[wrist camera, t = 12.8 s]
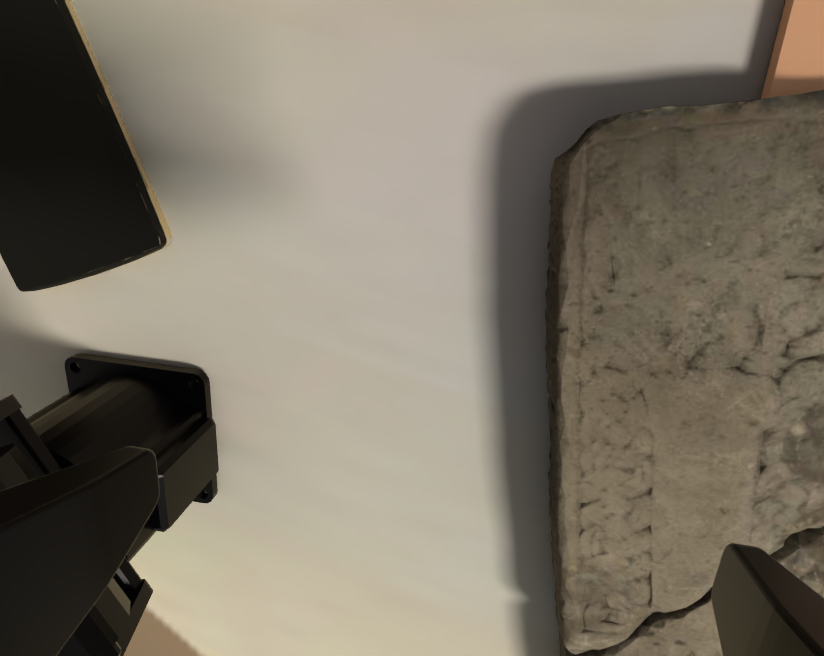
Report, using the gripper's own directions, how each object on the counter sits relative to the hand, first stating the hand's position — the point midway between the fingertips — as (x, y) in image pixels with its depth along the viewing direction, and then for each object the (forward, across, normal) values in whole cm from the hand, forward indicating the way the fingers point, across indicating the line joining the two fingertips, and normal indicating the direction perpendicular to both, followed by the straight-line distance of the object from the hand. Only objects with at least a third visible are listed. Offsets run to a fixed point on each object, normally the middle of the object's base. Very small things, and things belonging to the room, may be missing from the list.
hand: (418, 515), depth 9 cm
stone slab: (+13, -9, +8) cm, 18 cm away
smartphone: (+14, +18, -6) cm, 23 cm away
